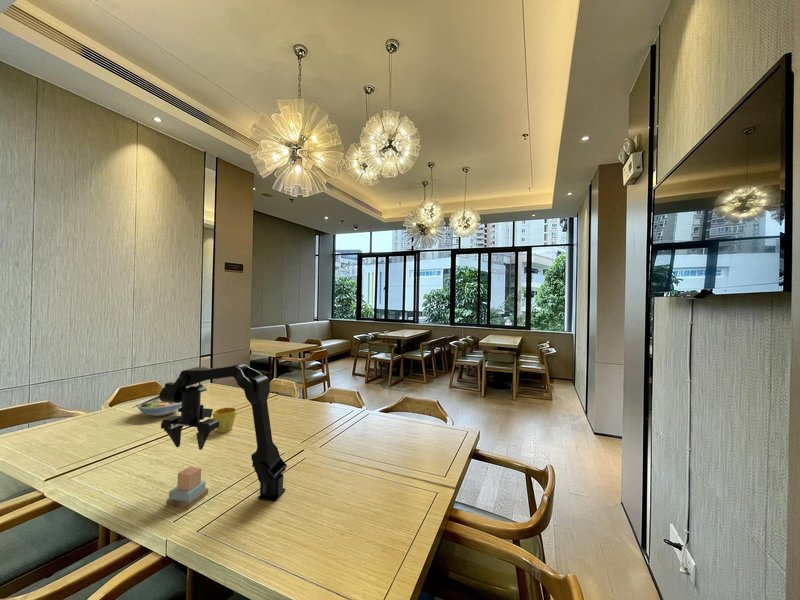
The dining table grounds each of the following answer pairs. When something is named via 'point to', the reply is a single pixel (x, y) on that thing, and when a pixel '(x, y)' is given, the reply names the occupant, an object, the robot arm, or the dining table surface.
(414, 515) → the dining table surface
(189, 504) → the walnut slab
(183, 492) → the blue slab
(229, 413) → the plant pot
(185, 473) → the clay block
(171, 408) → the ramen bowl
